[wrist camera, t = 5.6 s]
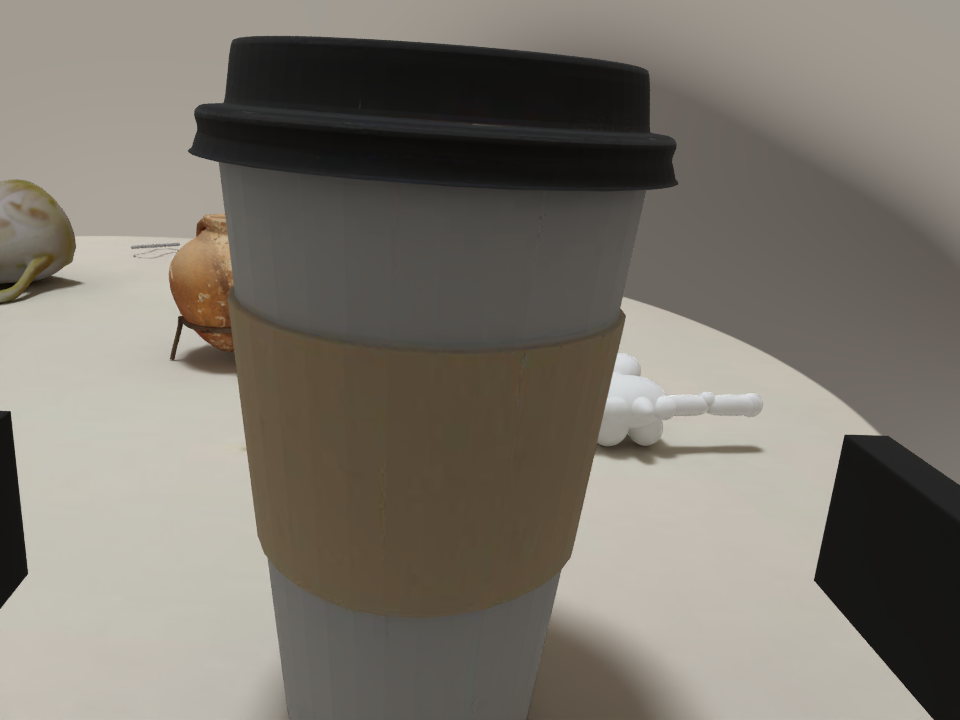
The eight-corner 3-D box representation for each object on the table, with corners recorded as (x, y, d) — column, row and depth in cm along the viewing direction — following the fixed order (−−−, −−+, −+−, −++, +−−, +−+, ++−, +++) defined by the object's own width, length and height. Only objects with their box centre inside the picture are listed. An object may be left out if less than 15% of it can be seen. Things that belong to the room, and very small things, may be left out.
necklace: (185, 246, 74) (185, 241, 74) (150, 250, 69) (149, 244, 69) (161, 246, 75) (161, 241, 75) (125, 250, 70) (124, 244, 70)
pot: (198, 346, 49) (148, 367, 42) (201, 209, 47) (149, 209, 41) (297, 356, 48) (260, 378, 42) (303, 217, 47) (266, 220, 40)
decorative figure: (444, 317, 51) (510, 380, 33) (630, 321, 53) (783, 380, 36) (441, 373, 51) (505, 462, 34) (626, 374, 54) (774, 458, 36)
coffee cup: (358, 562, 26) (371, 64, 22) (647, 660, 23) (734, 82, 18) (115, 755, 18) (59, 22, 14) (506, 960, 14) (601, 41, 10)
